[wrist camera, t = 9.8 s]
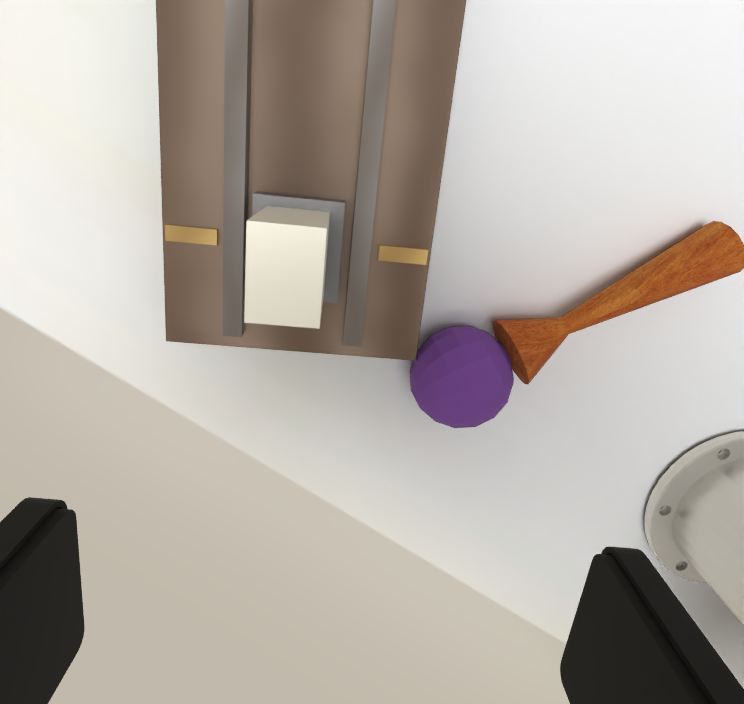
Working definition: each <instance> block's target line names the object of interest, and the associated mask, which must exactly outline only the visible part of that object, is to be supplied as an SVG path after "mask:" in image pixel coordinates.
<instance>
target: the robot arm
mask: <svg viewBox="0 0 744 704" xmlns="http://www.w3.org/2000/svg"><path fill="white" fill-rule="evenodd" d="M644 524H645V534H646V537H647V540H648V543H649V545H650V547H651V548H652V550H653V552H654V553H655V555H656V556H657V557H658V558H659V559H660V561H661V562H662V563H663V564H664V565H665V566H666V567H667V568H668V569H669V570H671V571H672V572H673V573H675V574H677V575H679V576H681V577H684V578H686V579H689V580H693V581H698V582H705V583H708V584H709V585H710V587H711V588H712V589H713V590H714V591H715V592H716V594H717V595H718V596H719V597H720V598H721V599H722V601H723V602H724V603H725V604H726V605H727V606H728V608H729V609H730V610H731V611H732V612H733V614H734V615H735V616H736V617H737V618H738V619H739V621H740V622H741V623H742V624H743V625H744V431H741V432H733V433H729V434H726V435H722V436H718V437H716V438H713V439H711V440H709V441H706V442H704V443H702V444H700V445H698V446H697V447H695V448H693V449H692V450H690V451H689V452H687V453H685V454H684V455H683V456H682V457H681V458H679V459H678V460H677V461H676V462H675V463H674V464H672V465H671V466H670V468H669V469H668V470H667V471H666V472H665V473H664V474H663V476H662V477H661V478H660V479H659V481H658V483H657V484H656V486H655V488H654V489H653V491H652V493H651V495H650V498H649V501H648V503H647V506H646V512H645V518H644ZM83 635H84V616H83V602H82V590H81V576H80V562H79V549H78V535H77V522H76V514H75V512H74V511H73V510H68V509H67V505H66V503H65V502H64V501H62V500H54V499H42V498H30V497H29V498H25V499H24V500H23V501H22V502H20V503H19V504H18V505H17V506H16V507H15V509H13V510H12V511H11V512H10V513H9V514H8V515H7V516H6V517H5V518H4V519H3V520H2V521H1V522H0V704H48V702H49V700H50V699H51V697H52V695H53V694H54V692H55V690H56V688H57V687H58V685H59V683H60V682H61V680H62V678H63V676H64V675H65V673H66V671H67V669H68V668H69V666H70V664H71V663H72V661H73V659H74V657H75V656H76V654H77V652H78V650H79V648H80V645H81V643H82V639H83ZM560 667H561V668H560V672H561V680H562V683H563V686H564V689H565V691H566V694H567V697H568V699H569V702H570V704H744V689H743V688H742V686H741V685H740V684H739V682H738V681H737V679H736V678H735V677H734V675H733V674H732V673H731V671H730V670H729V669H728V667H727V666H726V664H725V663H724V662H723V660H722V659H721V658H720V656H719V655H718V654H717V652H716V651H715V649H714V648H713V647H712V645H711V644H710V643H709V641H708V640H707V639H706V637H705V636H704V634H703V633H702V632H701V630H700V629H699V628H698V626H697V625H696V623H695V622H694V621H693V619H692V618H691V617H690V615H689V614H688V613H687V611H686V610H685V608H684V607H683V606H682V604H681V603H680V602H679V600H678V599H677V598H676V596H675V595H674V593H673V592H672V591H671V589H670V588H669V587H668V585H667V584H666V583H665V581H664V580H663V578H662V577H661V576H660V574H659V573H658V572H657V570H656V569H655V568H654V566H653V565H652V563H651V562H650V561H649V559H648V558H647V557H646V555H645V554H644V553H643V552H642V551H641V550H638V549H631V548H620V547H606V548H605V549H604V550H603V551H602V553H601V554H596V555H595V556H594V558H593V560H592V563H591V566H590V569H589V573H588V576H587V579H586V582H585V586H584V589H583V592H582V595H581V599H580V602H579V605H578V608H577V611H576V615H575V618H574V621H573V624H572V628H571V631H570V634H569V637H568V641H567V644H566V647H565V650H564V654H563V657H562V660H561V666H560Z"/></svg>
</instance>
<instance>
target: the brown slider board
mask: <svg viewBox="0 0 744 704" xmlns="http://www.w3.org/2000/svg"><path fill="white" fill-rule="evenodd" d="M465 5H466V0H156V17H157V51H158V84H159V118H160V151H161V185H162V218H163V252H164V285H165V319H166V341H171V342H184V343H197V344H210V345H223V346H236V347H249V348H261V349H274V350H287V351H300V352H313V353H326V354H339V355H352V356H364V357H377V358H390V359H403V360H416V353H417V346H418V339H419V332H420V325H421V318H422V311H423V303H424V296H425V289H426V282H427V275H428V268H429V261H430V254H431V247H432V239H433V232H434V225H435V218H436V211H437V204H438V197H439V190H440V183H441V175H442V168H443V161H444V154H445V147H446V140H447V133H448V126H449V119H450V111H451V104H452V97H453V90H454V83H455V76H456V69H457V62H458V55H459V47H460V40H461V33H462V26H463V19H464V12H465ZM257 191H261V192H270V193H280V194H290V195H300V196H309V197H319V198H329V199H338V200H345V213H344V225H343V237H342V249H341V261H340V273H339V285H338V297H337V303H329V302H323V305H322V313H321V321H320V329H317V328H305V327H292V326H280V325H268V324H256V323H244V310H245V266H246V222H247V220H248V219H249V218H251V217H252V204H253V193H255V192H257Z"/></svg>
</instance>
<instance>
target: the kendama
mask: <svg viewBox="0 0 744 704" xmlns="http://www.w3.org/2000/svg"><path fill="white" fill-rule="evenodd" d="M743 268H744V244H743V242H742V241H741V239H740V237H739V235H738V234H737V233H736V232H735V231H734V230H733V229H732V228H731V227H730V226H728V225H726V224H724V223H722V222H716V221H713V222H711V223H709V224H707V225H705V226H704V227H702V228H700V229H699V230H697V231H696V232H694V233H693V234H691V235H689V236H688V237H686V238H685V239H683V240H682V241H680V242H678V243H677V244H675V245H674V246H672V247H671V248H669V249H667V250H666V251H664V252H663V253H661V254H659V255H658V256H656V257H655V258H653V259H652V260H650V261H648V262H647V263H645V264H644V265H642V266H641V267H639V268H637V269H636V270H634V271H633V272H631V273H630V274H628V275H626V276H625V277H623V278H622V279H620V280H619V281H617V282H615V283H614V284H612V285H611V286H609V287H607V288H606V289H604V290H603V291H601V292H600V293H598V294H596V295H595V296H593V297H592V298H590V299H589V300H587V301H585V302H584V303H582V304H581V305H579V306H578V307H576V308H574V309H573V310H571V311H570V312H568V313H567V314H565V315H563V316H562V317H560V318H540V319H514V320H495V321H493V328H494V331H495V335H496V338H497V340H498V341H497V340H496V339H495V338H493V337H492V336H491V335H490V334H489V333H488V332H485V331H482V330H479V329H476V328H473V327H470V326H460V327H448V328H446V329H444V330H442V331H440V332H438V333H436V334H434V335H432V336H430V337H429V338H428V339H427V340H426V342H425V343H424V344H423V345H422V346H421V347H420V348H419V349H418V351H417V353H416V360H413V363H412V366H411V369H410V381H411V391H412V393H413V395H414V397H415V399H416V401H417V403H418V405H419V407H420V408H421V409H422V410H423V411H424V412H425V413H426V414H427V415H429V416H430V417H431V418H432V419H433V420H434V421H436V422H439V423H442V424H445V425H448V426H450V427H453V428H463V427H476V426H478V425H480V424H482V423H484V422H486V421H488V420H490V419H492V418H494V417H495V416H496V415H497V414H498V412H499V411H500V410H501V409H502V408H503V407H504V406H505V404H506V403H507V402H508V398H509V395H510V392H511V389H512V386H513V380H514V379H513V372H512V369H513V371H514V372H515V373H516V375H517V376H518V377H519V379H520V380H521V381H522V382H523V383H525V384H529V383H530V381H531V380H532V379H533V378H534V376H535V375H536V374H537V373H538V371H539V370H540V369H541V368H542V367H543V365H544V364H545V363H546V362H547V360H548V359H549V358H550V357H551V355H552V354H553V353H554V352H555V350H556V349H557V348H558V347H559V345H560V344H561V343H562V342H563V341H564V339H565V338H566V337H567V336H568V334H570V333H573V332H576V331H578V330H581V329H584V328H587V327H589V326H592V325H595V324H598V323H600V322H603V321H606V320H609V319H611V318H614V317H617V316H620V315H622V314H625V313H628V312H631V311H633V310H636V309H639V308H642V307H644V306H647V305H650V304H653V303H655V302H658V301H661V300H664V299H666V298H669V297H672V296H675V295H677V294H680V293H683V292H685V291H688V290H691V289H694V288H696V287H699V286H702V285H705V284H707V283H710V282H713V281H716V280H718V279H721V278H724V277H727V276H729V275H732V274H735V273H738V272H740V271H741V270H742V269H743Z"/></svg>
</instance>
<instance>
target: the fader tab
mask: <svg viewBox="0 0 744 704" xmlns="http://www.w3.org/2000/svg"><path fill="white" fill-rule="evenodd" d="M344 213H345V200H338V199H329V198H319V197H309V196H300V195H290V194H280V193H270V192H261V191H257V192H255V193H253V204H252V217H251V218H249V219H248V220H247V222H246V266H245V310H244V323H256V324H268V325H280V326H292V327H305V328H317V329H320V321H321V313H322V305H323V302H329V303H337V297H338V285H339V273H340V261H341V249H342V237H343V225H344Z"/></svg>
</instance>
